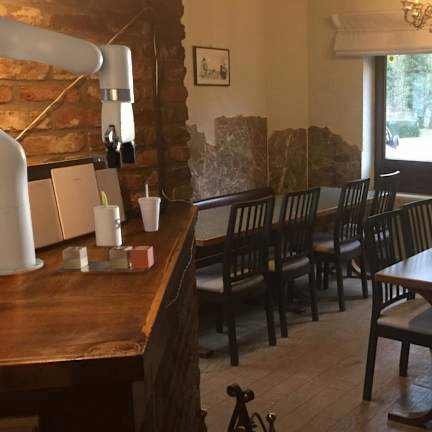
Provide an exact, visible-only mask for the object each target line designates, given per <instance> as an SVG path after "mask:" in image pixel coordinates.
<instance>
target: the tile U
mask: <svg viewBox="0 0 432 432" xmlns="http://www.w3.org/2000/svg"><path fill="white" fill-rule="evenodd" d="M132 249H133V246H132V245H131V246H130V245H128V246H121V245H120V246H113V247H112V248H111V249H109V250H108V251H109V261H110V266H111V269H120V268H129V267H130V266H131V254H130V250H132Z"/></svg>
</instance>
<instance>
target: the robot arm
mask: <svg viewBox="0 0 432 432" xmlns="http://www.w3.org/2000/svg"><path fill="white" fill-rule="evenodd" d="M0 57H2V58H8V59H12V60H17V61H28V62H34V63H35V62H36V63H40V64H45V65H49V66H53V67H57V68H60V69H64V70H66V71H68V72H69V73H71V74H73V75H77V76H89V75H97V74H98V79H99V93H100V103H102V104H101V140H102V142H103V143H104V145H105V152H106V163H107V168H108V169H122V167H123V165H122V164H128V165H129V164H131V165H132V164H136V148H135V147H136V143H135V136H136V135H135V132H136V131H135V122H134V121H135V120H134V112H133V106H132V104H134V103H135V99H134V98H135V97H134V95H135V94H134V81H133V80H134V79H133V65H132V52H131V49H130V47H129V46H127V45H122V44H100V45H96V44H95V43H92V42H90V41H87V40H85V39H82V38H78V37H75V36H71V35H68V34H65V33H61V32H57V31H54V30H51V29H47V28H42V27H39V26H36V25H32V24H31V23H27V22H23V21H19V20H16V19H13V18H9V17H6V16H2V15H0ZM121 146H122V147H121ZM120 148H121V149H120ZM30 204H31V203H30V196H29V183H28V163H27V156H26V153H25V150H24V148H23V146H22V144H21V143H20V142H19V141H18V140H16V139H15V138H13V137H12V136H10V135H9V134H8V133H7V132H5V131H4V130H2V129H1V128H0V276H8V275H18V274H25V273H28V272H32V271H36V270H38V269H40V268H42V267H43V266H44V260H42V259H41V258H38V257H37V258H36V251H35V240H34V231H33V221H32V212H31V205H30Z"/></svg>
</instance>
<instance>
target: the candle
mask: <svg viewBox="0 0 432 432" xmlns="http://www.w3.org/2000/svg"><path fill="white" fill-rule="evenodd" d="M101 200H102V201H101V202H102V205H98V206H94V207H92V208H93V222H94V231H95V232H94V233H95V244H96V247H115V246H121V245H122V234H121V218H120V217H121V216H120V207H119V205H116V204H110V205H109V203H108V198H107V195H106V193H105V191H104V190H101Z"/></svg>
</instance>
